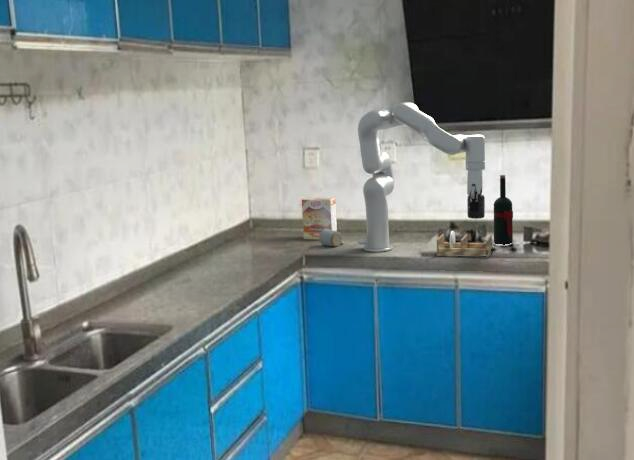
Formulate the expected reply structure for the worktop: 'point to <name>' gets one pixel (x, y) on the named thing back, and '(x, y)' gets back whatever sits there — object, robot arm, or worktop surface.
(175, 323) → the worktop surface
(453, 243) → the plate
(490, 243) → the rack
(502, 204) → the wine bottle
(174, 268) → the worktop surface
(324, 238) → the ceramic mug
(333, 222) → the coffeecake box
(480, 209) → the supplement bottle
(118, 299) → the worktop surface
